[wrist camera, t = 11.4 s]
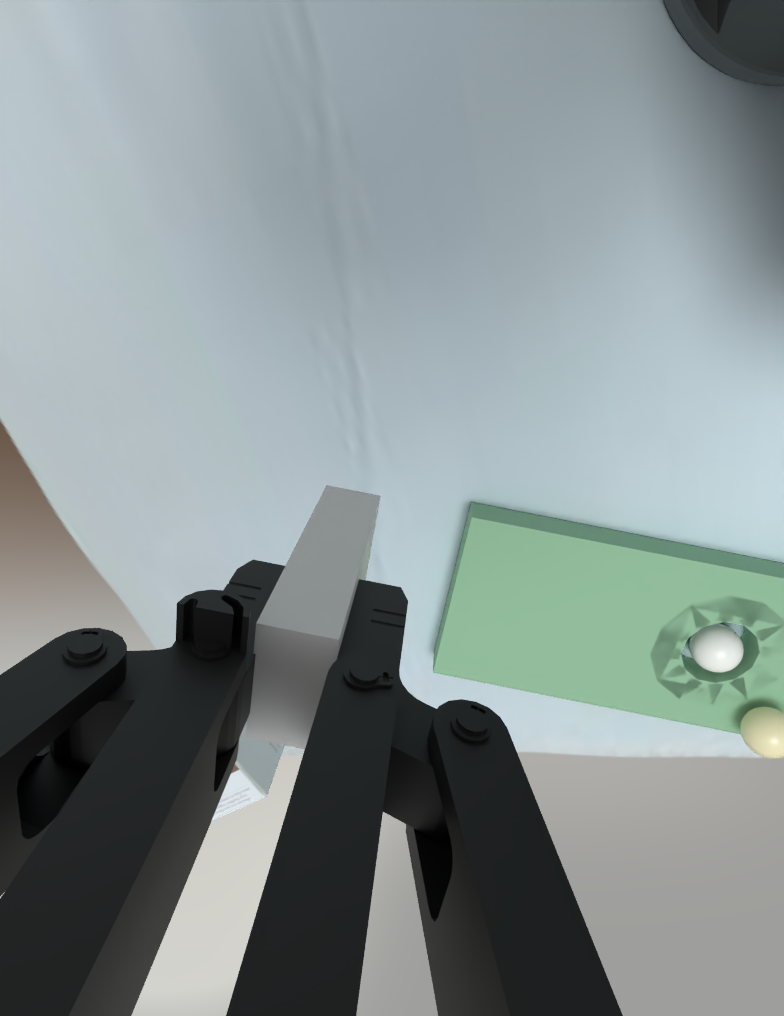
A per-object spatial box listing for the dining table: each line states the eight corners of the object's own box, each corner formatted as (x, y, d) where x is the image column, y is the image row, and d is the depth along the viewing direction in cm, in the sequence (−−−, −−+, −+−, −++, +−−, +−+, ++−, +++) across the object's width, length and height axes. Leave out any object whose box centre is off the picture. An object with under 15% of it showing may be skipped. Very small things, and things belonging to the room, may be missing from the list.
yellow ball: (743, 692, 44) (765, 726, 41) (790, 701, 44) (816, 736, 41) (724, 727, 46) (744, 763, 43) (770, 737, 46) (793, 773, 42)
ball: (712, 641, 42) (761, 647, 42) (691, 610, 45) (737, 616, 45) (694, 679, 43) (741, 685, 43) (675, 647, 46) (718, 653, 46)
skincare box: (253, 707, 52) (199, 833, 41) (220, 669, 51) (155, 790, 40) (311, 678, 51) (270, 803, 40) (278, 639, 49) (227, 756, 38)
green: (434, 651, 48) (433, 672, 46) (470, 502, 43) (471, 517, 41) (764, 717, 48) (779, 742, 46) (843, 575, 43) (865, 594, 40)
